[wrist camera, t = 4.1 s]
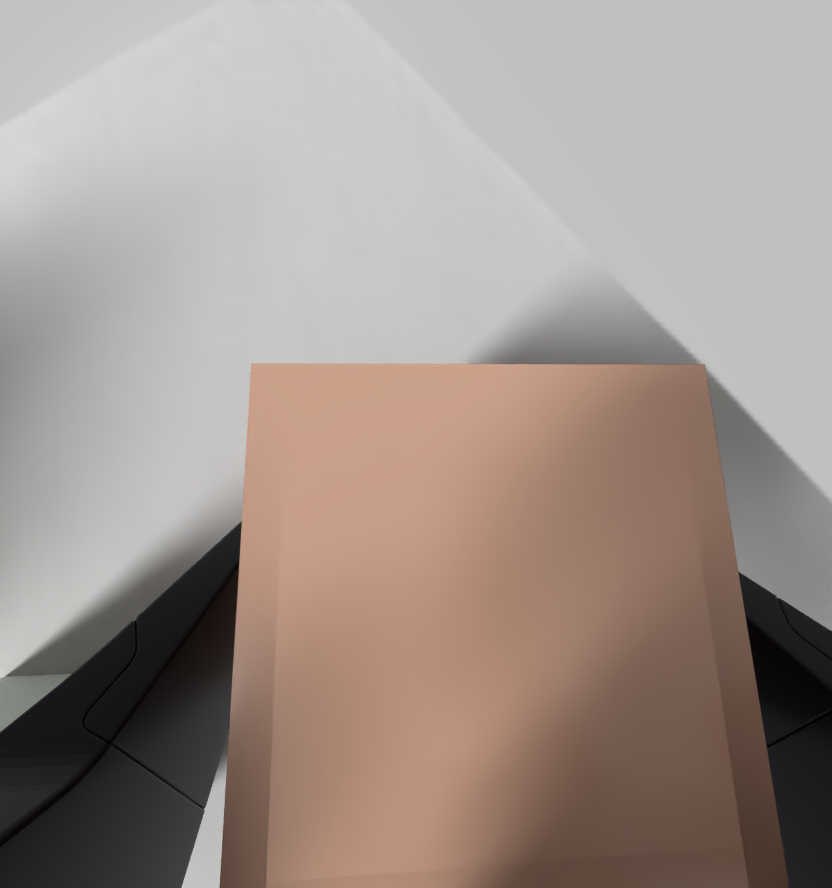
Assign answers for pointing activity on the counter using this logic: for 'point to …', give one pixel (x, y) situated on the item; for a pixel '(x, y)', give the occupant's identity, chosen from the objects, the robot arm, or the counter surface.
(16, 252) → the counter surface
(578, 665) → the terracotta cover
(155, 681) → the robot arm
